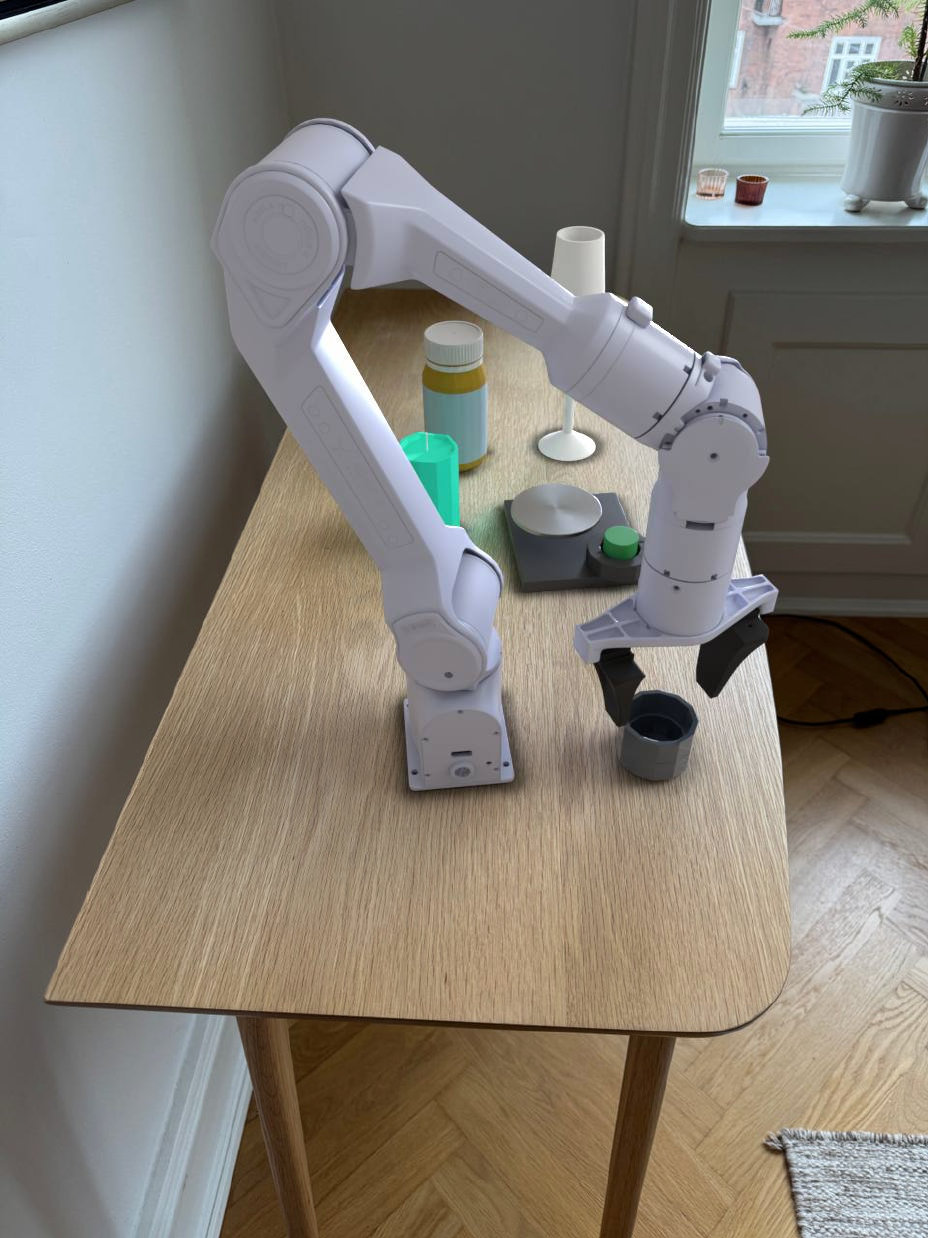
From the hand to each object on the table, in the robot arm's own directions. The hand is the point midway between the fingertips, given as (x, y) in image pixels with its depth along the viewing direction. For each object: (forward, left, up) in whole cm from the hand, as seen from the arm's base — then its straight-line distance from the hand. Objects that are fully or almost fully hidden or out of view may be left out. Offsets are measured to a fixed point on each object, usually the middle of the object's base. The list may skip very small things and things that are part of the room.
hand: (661, 702), depth 67 cm
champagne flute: (+47, -2, -6) cm, 47 cm away
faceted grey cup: (0, 0, -6) cm, 6 cm away
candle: (+31, +15, -6) cm, 35 cm away
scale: (+28, +1, -6) cm, 29 cm away
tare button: (+23, -2, -3) cm, 23 cm away
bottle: (+46, +11, -6) cm, 48 cm away
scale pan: (+30, +3, -3) cm, 30 cm away
